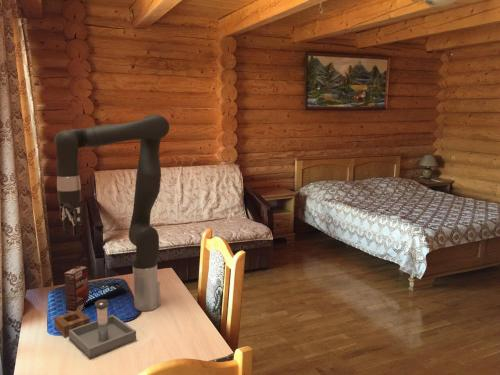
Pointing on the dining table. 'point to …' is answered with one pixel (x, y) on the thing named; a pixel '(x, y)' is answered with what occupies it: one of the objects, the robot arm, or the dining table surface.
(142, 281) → the robot arm
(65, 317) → the pin holder
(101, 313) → the lock pin
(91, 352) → the tray
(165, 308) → the dining table surface
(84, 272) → the supplement box
